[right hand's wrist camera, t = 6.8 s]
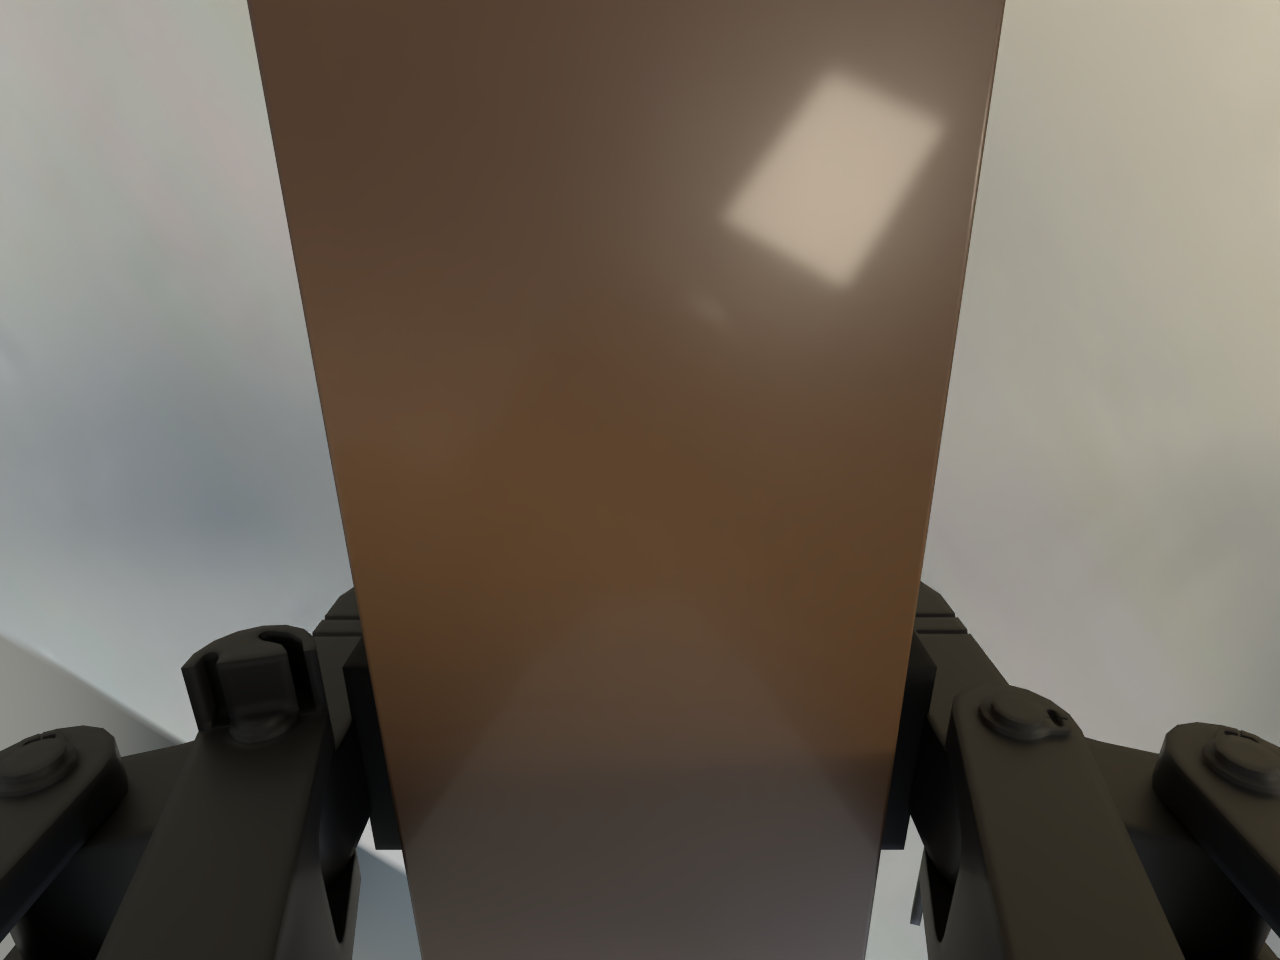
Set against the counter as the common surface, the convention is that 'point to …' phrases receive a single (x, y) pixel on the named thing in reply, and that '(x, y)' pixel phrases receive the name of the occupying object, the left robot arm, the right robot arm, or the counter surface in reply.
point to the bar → (634, 437)
